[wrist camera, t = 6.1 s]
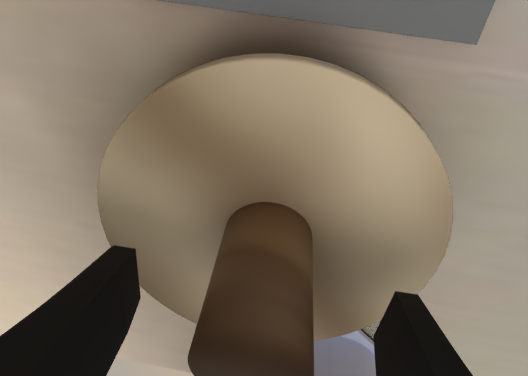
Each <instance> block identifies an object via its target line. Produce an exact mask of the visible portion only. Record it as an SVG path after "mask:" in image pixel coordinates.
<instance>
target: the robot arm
mask: <svg viewBox="0 0 528 376" xmlns="http://www.w3.org/2000/svg"><path fill="white" fill-rule="evenodd" d="M139 300H140V287H139V277H138V267H137V257H136V249H134V248H128V247H122V246H116V245H114V246H112V247H111V248H109V249H108V250H107V251H106V252H105V253H104V254H102V255H101V256H100V257H99V258H98V259H97V260H95V261H94V262H93V263H92V264H91V265H90V266H89V267H87V268H86V269H85V270H84V271H83V272H81V273H80V274H79V275H78V276H77V277H76V278H74V279H73V280H72V281H71V282H70V283H68V284H67V285H66V286H65V287H64V288H62V289H61V290H60V291H59V292H57V293H56V294H55V295H54V296H52V297H51V298H50V299H49V300H47V301H46V302H45V303H44V304H42V305H41V306H40V307H39V308H37V309H36V310H35V311H33V312H32V313H31V314H29V315H28V316H27V317H25V318H24V319H23V320H21V321H20V322H19V323H17V324H16V325H15V326H13V327H12V328H11V329H9V330H8V331H7V332H5V333H4V334H2V335H1V336H0V376H106V375H107V373H108V371H109V369H110V367H111V365H112V363H113V361H114V359H115V357H116V355H117V353H118V351H119V349H120V347H121V345H122V343H123V341H124V339H125V337H126V335H127V333H128V330H129V328H130V325H131V322H132V320H133V317H134V314H135V312H136V309H137V306H138V303H139ZM314 376H473V375H472V374H471V372H470V371H469V370H468V368H467V367H466V365H465V364H464V363H463V361H462V360H461V358H460V357H459V355H458V354H457V353H456V351H455V350H454V348H453V347H452V345H451V344H450V342H449V341H448V339H447V338H446V336H445V335H444V333H443V332H442V330H441V329H440V327H439V326H438V324H437V323H436V321H435V320H434V318H433V317H432V315H431V314H430V312H429V311H428V309H427V308H426V306H425V305H424V303H423V302H422V300H421V299H420V297H419V296H418V295H417V294H411V293H405V292H399V291H395V293H394V295H393V297H392V299H391V301H390V303H389V305H388V307H387V309H386V311H385V314H384V316H383V318H382V320H381V322H380V324H379V326H378V328H377V330H376V332H375V334H374V342H373V341H372V340H371V339H370V338H369V337H368V336H367V335H366V334H364V333H363V332H362V331H361V330H358V331H355V332H352V333H349V334H346V335H342V336H338V337H334V338H329V339H323V340H317V341H314Z"/></svg>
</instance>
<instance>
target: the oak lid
mask: <svg viewBox="0 0 528 376" xmlns="http://www.w3.org/2000/svg"><path fill="white" fill-rule="evenodd" d="M98 206H99V212H100V217H101V222H102V225H103V228H104V231H105V234H106V237H107V239H108V241H109V243H110V245H111V247H112V246H114V245H116V246H122V247H128V248H134V249H136V257H137V267H138V277H139V285H140V286H141V287H142V288H143V289H144V290H145V291H146V292H147V293H148V294H150V295H151V296H152V297H154V298H155V299H156V300H157V301H159V302H160V303H161V304H163V305H164V306H166V307H167V308H169V309H171V310H172V311H174V312H175V313H177V314H179V315H181V316H182V317H184V318H186V319H188V320H190V321H192V322H194V323H197V327H196V330H195V334H194V337H193V340H192V344H191V347H190V351H189V355H188V364H189V367H190V370H191V372H192V373H193V375H194V376H314V341H317V340H323V339H329V338H334V337H338V336H342V335H346V334H349V333H352V332H355V331H358V330H361V329H363V328H366V327H369V326H371V325H373V324H375V323H377V322H379V321H381V320H382V318H383V316H384V314H385V311H386V309H387V307H388V305H389V303H390V301H391V299H392V297H393V295H394V293H395V291H399V292H405V293H411V294H418V293H419V292H420V291H421V290H422V289H423V288H424V287H425V285H426V284H427V283H428V281H429V280H430V279H431V277H432V276H433V275H434V273H435V272H436V270H437V268H438V266H439V265H440V263H441V261H442V259H443V257H444V255H445V252H446V249H447V246H448V243H449V240H450V237H451V230H452V223H453V197H452V193H451V188H450V183H449V179H448V176H447V173H446V171H445V168H444V166H443V163H442V161H441V159H440V156H439V155H438V153H437V151H436V150H435V148H434V146H433V145H432V143H431V142H430V140H429V138H428V137H427V135H426V134H425V132H424V130H423V129H422V127H421V126H420V124H419V123H418V122H417V121H416V119H415V118H414V117H413V116H412V115H411V114H410V113H409V111H408V110H407V109H406V108H405V107H404V106H403V105H402V104H401V103H400V102H398V101H397V100H396V99H395V98H394V97H392V96H391V95H390V94H389V93H388V92H386V91H385V90H384V89H382V88H381V87H379V86H377V85H376V84H374V83H373V82H371V81H369V80H368V79H366V78H364V77H363V76H361V75H359V74H356V73H354V72H352V71H349V70H347V69H345V68H342V67H340V66H338V65H335V64H332V63H328V62H324V61H321V60H317V59H313V58H310V57H303V56H296V55H288V54H281V53H262V54H246V55H239V56H231V57H225V58H221V59H218V60H215V61H211V62H208V63H204V64H201V65H198V66H196V67H194V68H192V69H189V70H187V71H185V72H183V73H181V74H178V75H177V76H175V77H173V78H172V79H170V80H169V81H167V82H166V83H164V84H163V85H161V86H160V87H158V88H157V89H156V90H155V91H154V92H152V93H151V94H150V95H149V96H148V97H147V98H146V99H145V100H144V101H142V102H141V103H140V104H139V105H138V106H137V107H136V108H135V109H134V110H133V111H132V112H131V113H130V114H129V115H128V117H127V118H126V119H125V120H124V122H123V123H122V124H121V125H120V127H119V128H118V129H117V131H116V132H115V134H114V136H113V138H112V140H111V142H110V143H109V145H108V147H107V149H106V152H105V155H104V158H103V161H102V164H101V167H100V174H99V180H98Z"/></svg>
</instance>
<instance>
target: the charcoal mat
mask: <svg viewBox="0 0 528 376" xmlns="http://www.w3.org/2000/svg"><path fill="white" fill-rule="evenodd" d="M161 1H168V2H175V3H182V4H190V5H197V6H204V7H211V8H218V9H225V10H232V11H239V12H247V13H254V14H261V15H268V16H275V17H282V18H289V19H296V20H304V21H311V22H318V23H325V24H332V25H339V26H346V27H353V28H361V29H368V30H375V31H382V32H389V33H396V34H403V35H410V36H418V37H425V38H432V39H439V40H446V41H453V42H460V43H467V44H475V45H477V43H478V40H479V38H480V35H481V33H482V31H483V28H484V26H485V23H486V21H487V19H488V16H489V14H490V11H491V9H492V7H493V4H494V2H495V0H161Z"/></svg>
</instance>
